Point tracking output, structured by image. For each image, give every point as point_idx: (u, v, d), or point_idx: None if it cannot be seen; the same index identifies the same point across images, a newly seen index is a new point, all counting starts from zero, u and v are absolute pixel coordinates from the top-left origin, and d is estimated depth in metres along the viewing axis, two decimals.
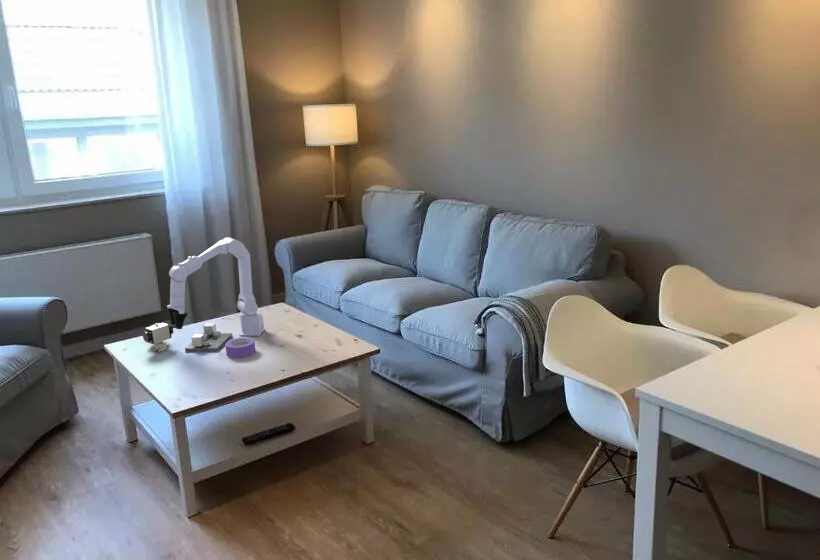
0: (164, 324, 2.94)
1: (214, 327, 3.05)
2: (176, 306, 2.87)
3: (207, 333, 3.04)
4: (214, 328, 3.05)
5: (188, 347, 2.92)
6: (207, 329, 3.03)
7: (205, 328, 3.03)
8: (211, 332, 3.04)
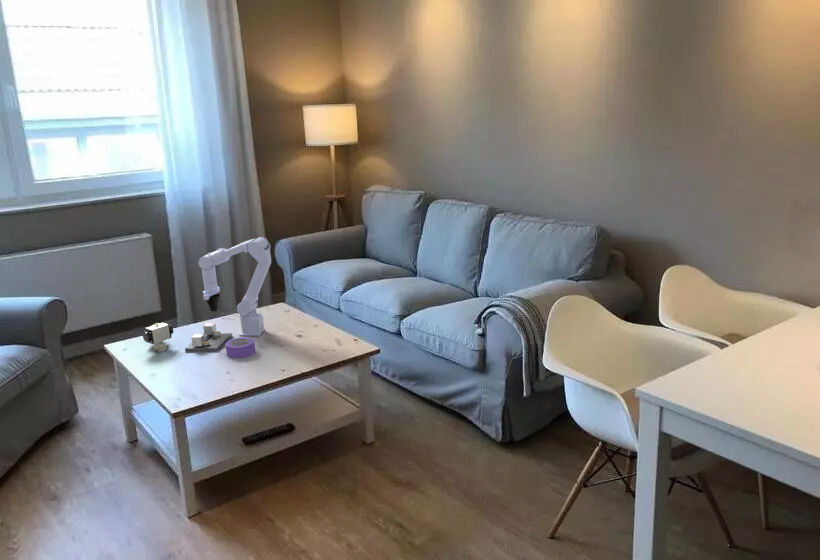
0: (164, 324, 2.94)
1: (214, 327, 3.05)
2: (206, 292, 3.05)
3: (207, 333, 3.04)
4: (214, 328, 3.05)
5: (188, 347, 2.92)
6: (207, 329, 3.03)
7: (205, 328, 3.03)
8: (211, 332, 3.04)
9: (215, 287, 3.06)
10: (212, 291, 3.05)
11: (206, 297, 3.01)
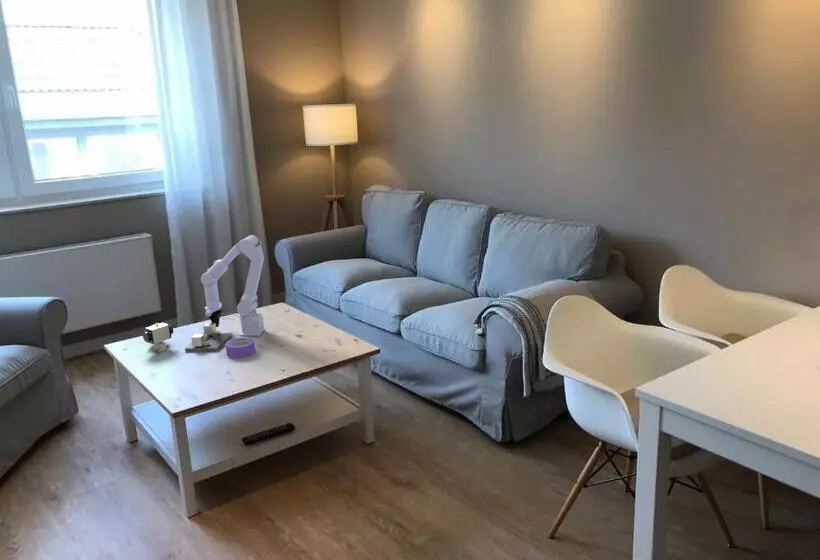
0: (164, 324, 2.94)
1: (214, 327, 3.05)
2: (209, 308, 3.07)
3: (207, 333, 3.04)
4: (214, 328, 3.05)
5: (188, 347, 2.92)
6: (207, 329, 3.03)
7: (205, 328, 3.03)
8: (211, 332, 3.04)
9: (217, 303, 3.08)
10: (214, 307, 3.07)
11: (208, 313, 3.03)
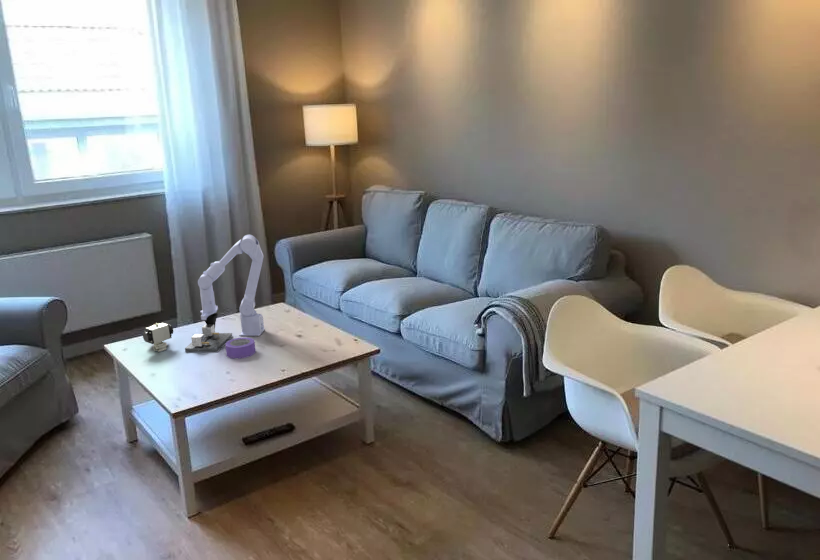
0: (164, 324, 2.94)
1: (213, 328, 3.04)
2: (204, 312, 3.03)
3: (206, 334, 3.02)
4: (213, 329, 3.04)
5: (188, 347, 2.92)
6: (206, 331, 3.02)
7: (204, 329, 3.02)
8: (210, 333, 3.02)
9: (213, 307, 3.03)
10: (210, 311, 3.03)
11: (204, 317, 2.98)
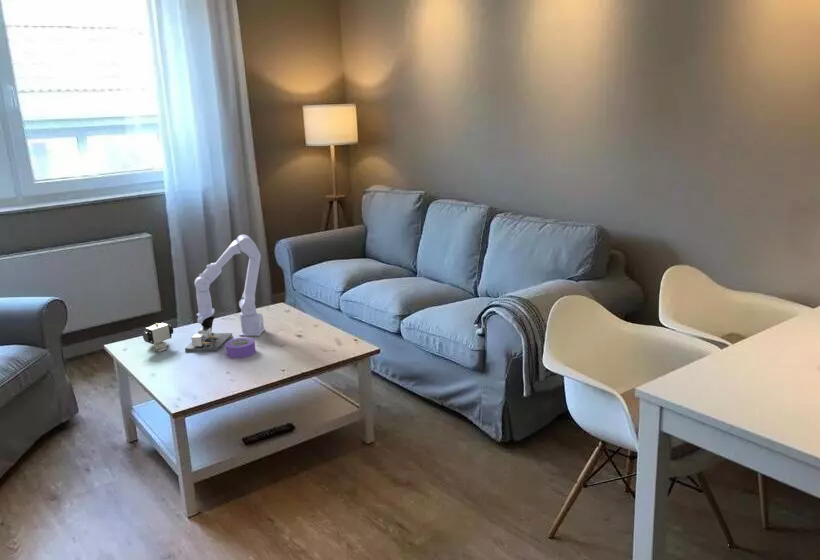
0: (164, 324, 2.94)
1: (209, 331, 3.00)
2: (201, 315, 2.99)
3: None
4: (209, 332, 3.00)
5: (188, 347, 2.92)
6: None
7: (200, 332, 2.98)
8: (206, 337, 2.98)
9: (209, 310, 2.99)
10: (206, 314, 2.99)
11: (200, 320, 2.95)
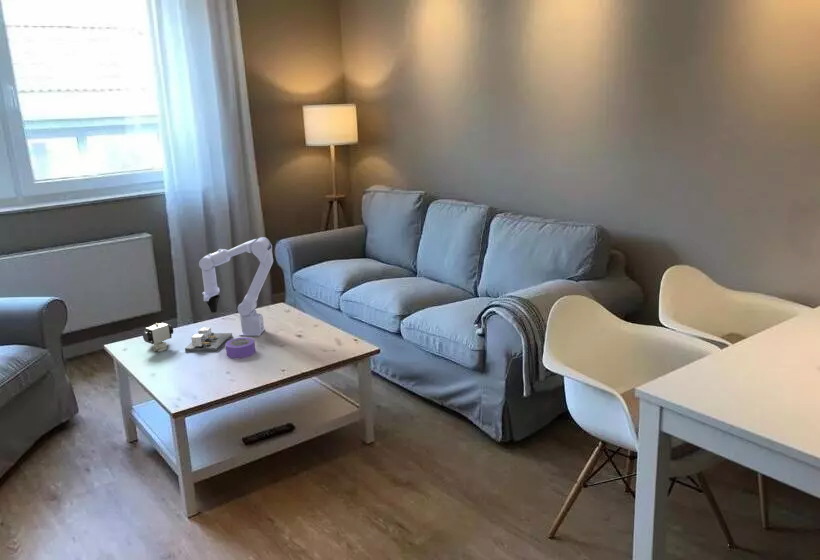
0: (164, 324, 2.94)
1: (209, 331, 3.00)
2: (206, 293, 3.04)
3: None
4: (209, 332, 3.00)
5: (188, 347, 2.92)
6: None
7: (200, 332, 2.98)
8: (206, 337, 2.98)
9: (215, 288, 3.04)
10: (212, 292, 3.04)
11: (206, 298, 2.99)
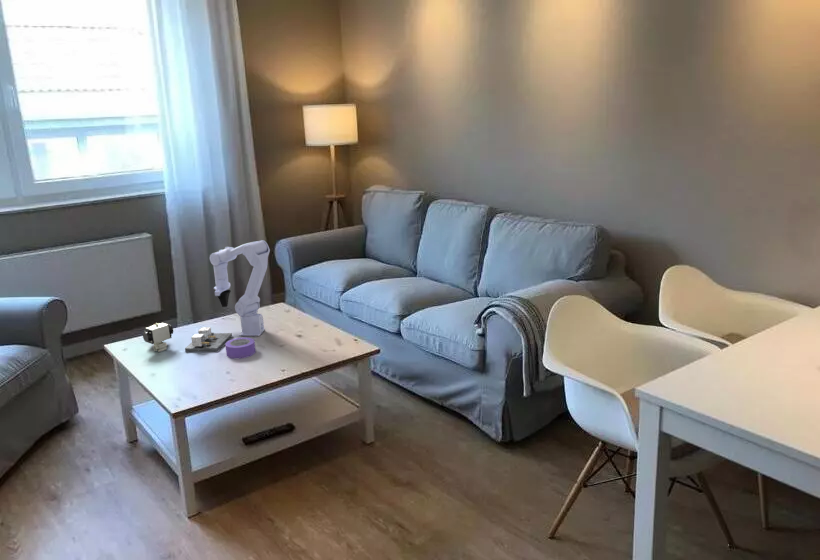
0: (164, 324, 2.94)
1: (209, 331, 3.00)
2: (218, 288, 3.11)
3: None
4: (209, 332, 3.00)
5: (188, 347, 2.92)
6: None
7: (200, 332, 2.98)
8: (206, 337, 2.98)
9: (226, 283, 3.12)
10: (223, 287, 3.11)
11: (217, 293, 3.07)
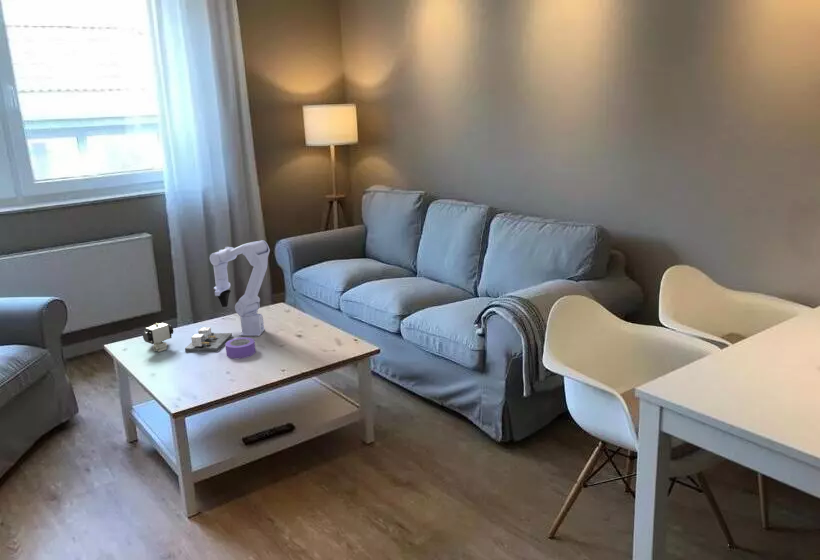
0: (164, 324, 2.94)
1: (209, 331, 3.00)
2: (218, 288, 3.11)
3: None
4: (209, 332, 3.00)
5: (188, 347, 2.92)
6: None
7: (200, 332, 2.98)
8: (206, 337, 2.98)
9: (226, 283, 3.12)
10: (223, 287, 3.11)
11: (217, 293, 3.07)
